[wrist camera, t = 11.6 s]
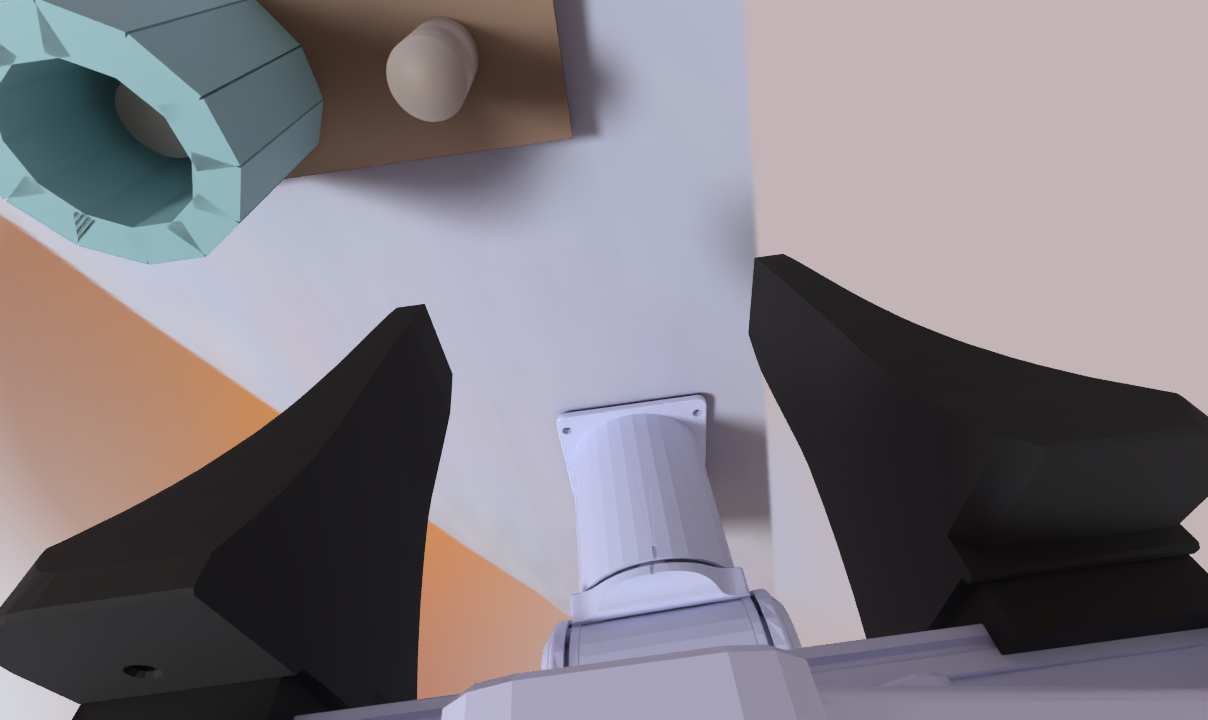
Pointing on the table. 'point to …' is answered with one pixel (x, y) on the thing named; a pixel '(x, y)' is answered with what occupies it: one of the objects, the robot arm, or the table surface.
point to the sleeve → (173, 88)
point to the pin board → (377, 113)
